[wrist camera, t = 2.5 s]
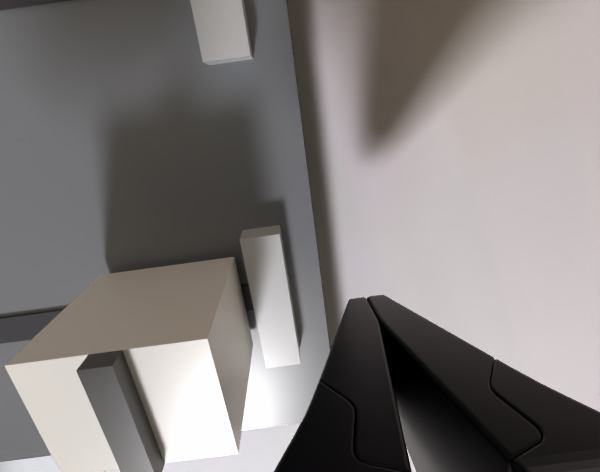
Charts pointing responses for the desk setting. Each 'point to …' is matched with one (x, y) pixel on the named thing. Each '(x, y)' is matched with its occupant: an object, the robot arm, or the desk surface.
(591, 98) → the desk surface
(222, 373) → the white fader
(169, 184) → the console
